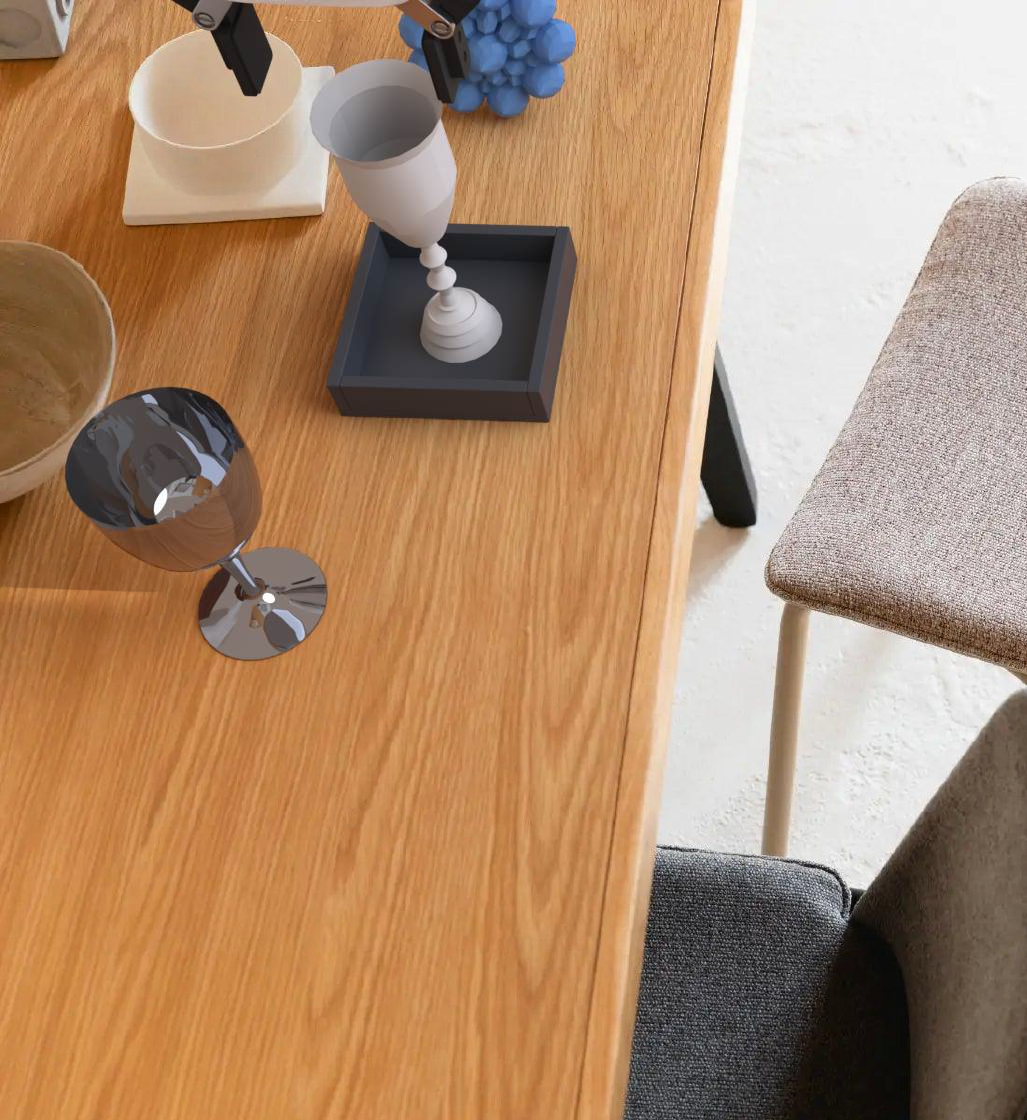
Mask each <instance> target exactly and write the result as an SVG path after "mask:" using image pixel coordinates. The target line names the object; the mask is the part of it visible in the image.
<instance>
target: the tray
mask: <svg viewBox="0 0 1027 1120" xmlns="http://www.w3.org/2000/svg"><path fill="white" fill-rule="evenodd" d="M362 243H363V244H362V247H361V251H360V255H359V259H358V263H357V266H356V269H355V273H354V277H353V282H352V285H351V288H350V293H349V295H348V300H347V303H346V308H345V312H344V314H343V319H342V323H341V326H340V330H339V334H338V338H337V342H336V344H335V345H336V346H335V349H334V353H333V357H332V361H331V364H330V367H329V372H328V376H327V379H326V383H325V387H326V389H327V391H328V393H329V395H330V396H331V398H332V400H333V402H334V404H335V406H336V407H337V409H338V411H339V414H340V415H341V416H342V417H364V418H365V417H367V418H400V419H401V418H403V419H404V418H405V419H433V420H434V419H435V420H466V421H470V420H471V421H496V422H497V421H501V422H503V421H504V422H531V423H532V422H534V423H535V422H536V423H550V421H551V416H552V409H553V404H554V398H555V392H556V387H557V381H558V377H559V370H560V364H561V358H562V351H563V348H564V347H563V346H564V341H565V335H566V329H567V324H568V317H569V312H570V306H571V300H572V294H573V289H574V282H575V277H576V272H577V265H578V261H579V259H578V255H577V251H576V247H575V243H574V240H573V236H572V232H571V229H570V226H568V225H567V226H566V225H557V226H556V225H532V224H531V225H527V224H526V225H525V224H524V225H523V224H492V223H491V224H490V223H487V224H485V223H449V222H448V224H447V228H446V231H445V233H444V235H443V237H442V238H441V239H440V240H439V241H438V242H436V243H437V244H438V245H439V246H440V247H442V248H444V249H445V251H446V253H447V258H446V260H445V264H444V265H445V266H447V267H450V268H452V269H453V270H454V271H455V272H456V280H455V282H454V284H453V287H461V288H466V289H470V290H473V291H474V292H476V293H478V294H479V295H480V297H482V298H483V299H485V300H486V301H487V302H488V303H489V304H491V305H493V306H494V307H495V309H496V310H497V311H498V312H499V314H500V317H501V320H502V332H501V335H500V337H499V339H498V341H497V343H496V345H495V346H494V347H493V348H491V349H490V350H489V351H488V352H487V353H486V354H484V355H482V356H481V357H479V358H477V359H475V360H471V361H467V362H463V363H449V362H445V361H441V360H438V359H436V358H435V357H433V356H431V355H430V354H428V352H427V351H426V350H425V348H424V347H423V346H422V342H421V338H420V332H421V326H422V322H423V316H424V310H425V307H426V305H427V303H428V302H429V300H430V299H431V298H432V297H433V296H434V295H436V294H437V293H438V290H435V289H432V288H431V287H429V285H428V284H427V276H428V274H429V272H430V269H429V268H428V267H425V266H424V265H422V263H421V262H420V254H421V252H422V251H421V248H415V247H411V246H408V245H407V244H405V243H403V242H402V241H400V240H399V239H397V238H396V237H394V236H393V235H391V234H390V233H388V232H386V231H385V230H383V229H382V228H380V227H379V226H377V225H376V224H375V223H374V222H373V221H369V222H368V225H367V229H366V233H365V236H364V239H363V242H362Z"/></svg>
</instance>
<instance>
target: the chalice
mask: <svg viewBox="0 0 1027 1120" xmlns="http://www.w3.org/2000/svg"><path fill="white" fill-rule="evenodd" d="M311 104H312V105H311V108H310V113H309V123H310V128H311V134H312V135H313V137H314V138H315V140H316V141H317V143H318V144H319V145H320V146H321V148H323V149H324V150H326V151H327V152H329V153H330V154H332V155H331V156H332V157H333V159H334V161H335V164H336V166H337V168H338V171H339V173H340V175H341V179H342V180H343V182H344V184H345V187H346V190H347V191H348V194H349V196H350V198H351V199H352V201H353V203H354V204H355V205H356V207H357V208H358V209H359V211H361V212H362V213H363V214H364V215H365V216H366V217H368V218H369V219H370V220H371V222H374V223H375V224H376V225H377V226H379V227H380V228H382V229H383V230H385V231H386V232H388V233H390V234H391V235H393V236H394V237H396V238H397V239H399V240H400V241H402V242H403V243H405V244H407V245H408V246H411V247H415V248H421V251H422V252H421V254H420V262H421V263H422V265H424V266H425V267H428V268H429V269H430V272H429V274H428V276H427V284H428V285H429V287H431V288H432V289H435V290H438V293H437V294H436V295H434V296H433V297H432V298H431V299H430V300H429V302H428V303H427V305H426V307H425V310H424V316H423V322H422V326H421V332H420V338H421V342H422V346H423V347H424V348H425V350H426V351H427V352H428V354H430V355H431V356H433V357H435V358H436V359H438V360H441V361H445V362H449V363H463V362H467V361H471V360H475V359H477V358H479V357H481V356H482V355H484V354H486V353H487V352H488V351H489V350H490V349H491V348H493V347H494V346H495V345H496V343H497V341H498V339H499V337H500V335H501V332H502V320H501V317H500V314H499V312H498V311H497V310H496V309H495V307H494V306H493V305H491V304H489V303H488V302H487V301H486V300H485V299H483V298H482V297H480V295H479V294H478V293H476V292H474V291H473V290H470V289H466V288H461V287H453V284H454V282H455V280H456V272H455V271H454V270H453V269H452V268H450V267H447V266H445V265H444V264H445V260H446V258H447V253H446V251H445V249H444V248H442V247H440V246H439V245H438V244H437V243H436V242H438V241H439V240H440V239H441V238H442V237H443V235H444V233H445V231H446V228H447V224H448V223H449V220H450V218H451V214H452V211H453V207H454V202H455V194H456V184H457V172H458V168H457V165H456V161H455V156H454V154H453V152H452V151H453V150H452V148H451V146H450V142H449V139H448V136H447V133H446V131H445V127H444V124H443V121H442V119H441V118H442V115H443V114H442V113H443V107H444V104H443V103H442V102H441V101H438V99H437V96H436V92H435V89H434V86H433V82H432V79H431V76H430V73H429V72H428V71H426V70H424V69H423V68H421V67H420V66H418V65H416V64H414V63H410V62H408V61H407V60H401V59H399V58H386V59H385V58H375V59H371V60H367V61H364V62H363V61H362V62H359V63H355V64H353V65H351V66H349V67H347V68H346V69H343V70H342V71H339V72H338V73H336V74H335V75H334V76H333V77H331V78H330V79H329V80H328V81H327V82H326V83H325V84H324V85H322V86H321V87H320V90H319V91H318V93H317V94H316V96H315V97H314V99H313V101H312V103H311Z"/></svg>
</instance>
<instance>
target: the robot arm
mask: <svg viewBox="0 0 1027 1120" xmlns="http://www.w3.org/2000/svg"><path fill="white" fill-rule="evenodd" d="M480 1H481V0H171V2H173V3H175V4H176V5H178V6H180V7H181V8H183V9H184V10H186V11H188V12H189V13H191V15H190V17H191V20H192V22H193V24H194V25H195V26H196V27H197V28H198V29H202V30H203V31H207V32H210V35H211V36H212V38H213V40H214V43H215V45H216V47H217V50H218V52H219V54H220V56H221V58H222V61H223V63H224V65H225V67H226V69H228V70H229V71H232V72H233V75H234V77H235V80H236V82H237V84H238V86H239V88H240V90H241V93H242V94H243V96H244V97H252V98H253V97H255V98H256V97H258V95H260V94H261V93H262V91H263V89H264V88H263V87H264V84H265V82H266V79H267V76H268V73H269V70H270V67H271V64H272V60H273V59H274V58H273V57H274V53H273V50H272V47H271V45H270V42H269V40H268V37H267V34H266V33H265V30H264V28H263V25H262V22H261V20H260V18H259V16H258V13H257V11H256V8H255V5H254V4H256V5H257V4H259V5H260V4H261V5H278V6H279V5H280V6H301V7H303V6H304V7H331V8H332V7H333V8H335V7H336V8H388V7H389V8H390V7H396V8H397V9H398V10H400V11H401V12H402V14H404V13H405V14H406V15H407V16H408V17H410V18H411V19H412V20H414V21H415V22H416V23H418V24H419V25H420V26H421V27H423V28H424V31H423V35H422V39H421V45H422V49H423V53H424V56H425V59H426V63H427V66H428V69H429V72H430V76H431V79H432V82H433V86H434V89H435V92H436V96H437V99H438V101H441V102H442V103H443V105H444V104H445V105H447V104H454V102H455V98H456V94H457V90H458V86H459V82H460V78H466V79H467V78H468V76H469V72H470V67H471V57H470V51H469V47H468V44H467V40H466V36H465V33H464V29H463V25H462V20H463V19H464V18H465V17H466V16H467V15H468V14H469V13H470V12H471V11H472V10H473V9H474V8H475V7H476V6H477V5H478V4H479V3H480Z"/></svg>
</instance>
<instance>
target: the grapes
mask: <svg viewBox="0 0 1027 1120" xmlns="http://www.w3.org/2000/svg"><path fill="white" fill-rule="evenodd" d="M556 12H557V1H556V0H481V1H480V3H479V4H478V5H477V6H476V7H475V8H474V9H473V10H472V11H471V12H470V13H469V14H468V15H467V16H466V17H465V18H464V19H463V20H462V25H463V29H464V33H465V36H466V40H467V44H468V47H469V51H470V57H471V67H470V72H469V76H468V78H467V79H466V78H460V82H459V86H458V90H457V94H456V98H455V102H454V104H446V106H447V107H448V108H449V110H451V111H452V112H454V113H457V114H469V113H472V112H475V111H477V110H478V109H479V108H480V107H482V106H483V104H484V102H485V101H486V105H487V107H488V108H489V109H490V111H491V112H492V113H493V114H494V115H496V116H498V117H500V118H505V119H506V118H507V119H509V118H514V117H517V116H519V115H520V114H522V113H523V112H524V111H525V110H526V109H527V107H528V104H529V102H530V96H531V97H533V98H535V99H540V100H544V99H545V100H546V99H549V98H553V97H554V96H556V95H557V94H558V93H559V92H560V91H561V90H562V89H563V86H564V84H565V82H566V76H565V70H564V69H565V68H564V66H563V65H562V63H565V62H566V61H568V60H569V58H571V57H572V56H573V54H574V52H575V50H576V47H577V39H576V32H575V30H574V28H573V27H572V25H570V24H571V23H569V22H567V21H565V20H563V19H559V18H554V17H555V14H556ZM397 27H398V32H399V37H400V38H401V40H402V41H403V43H404V44H405V45H406V47H408V48H410V49H411V50H412V51H411V52H410V54H409V57H408V59H407V62H410V63H414V64H416V65H418V66H420V67H421V68H423V69H424V70H426V71H428V72H429V69H428V66H427V63H426V59H425V56H424V53H423V49H422V45H421V39H422V35H423V31H424V28H423V27H421V26H420V25H419V24H418V23H416V22H415V21H414V20H412V19H411V18H410V17H408V16H407V15H406V14H405V13H402V14H401V17H400V18H399V22H398V26H397ZM429 73H430V72H429Z"/></svg>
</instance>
